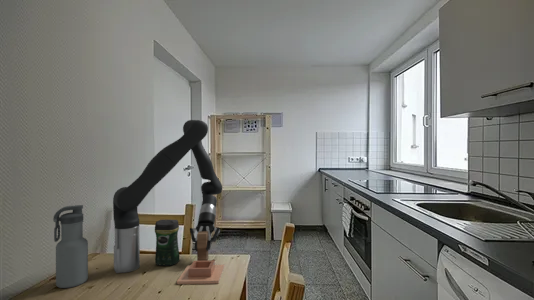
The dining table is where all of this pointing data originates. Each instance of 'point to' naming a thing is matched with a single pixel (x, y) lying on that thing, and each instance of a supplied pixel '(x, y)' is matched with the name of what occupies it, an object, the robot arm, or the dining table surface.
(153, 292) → the dining table surface
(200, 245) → the walnut post
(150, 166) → the robot arm
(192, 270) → the terracotta holder
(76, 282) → the water bottle
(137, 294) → the dining table surface
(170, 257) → the coffee jar
